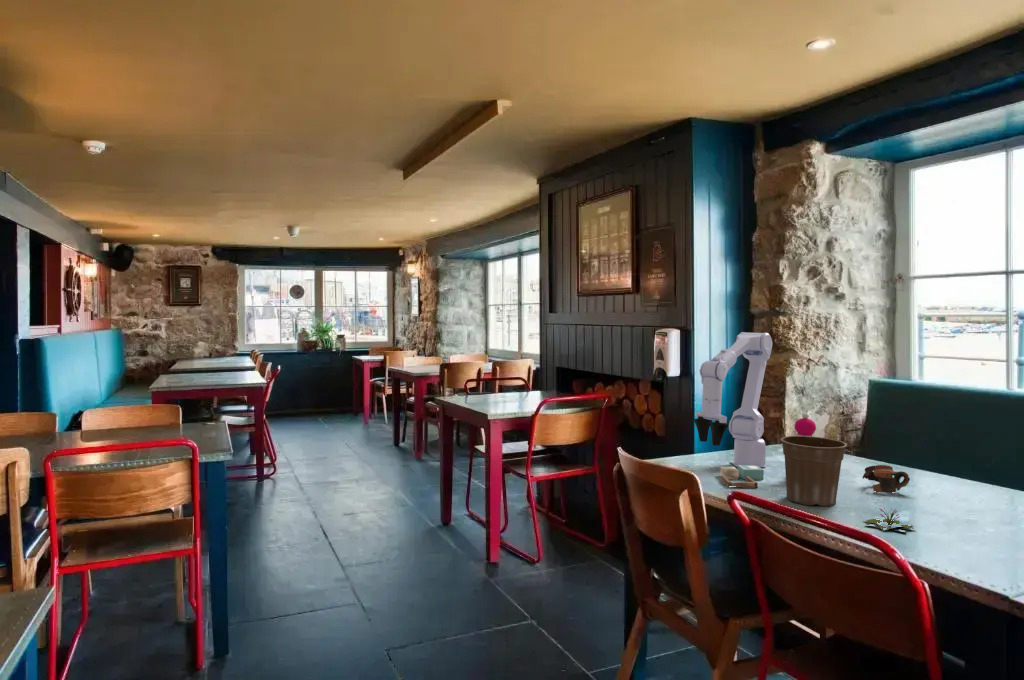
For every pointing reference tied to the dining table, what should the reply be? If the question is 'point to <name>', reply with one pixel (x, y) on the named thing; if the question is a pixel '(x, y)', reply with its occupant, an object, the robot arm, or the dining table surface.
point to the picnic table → (741, 483)
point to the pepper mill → (805, 426)
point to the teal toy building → (751, 472)
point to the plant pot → (812, 469)
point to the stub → (729, 472)
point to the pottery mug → (886, 478)
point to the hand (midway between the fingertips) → (709, 443)
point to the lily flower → (887, 520)
